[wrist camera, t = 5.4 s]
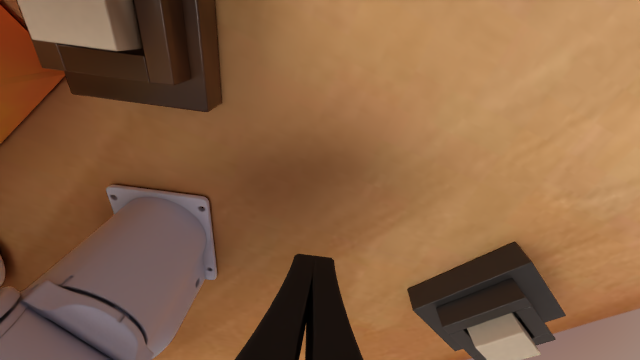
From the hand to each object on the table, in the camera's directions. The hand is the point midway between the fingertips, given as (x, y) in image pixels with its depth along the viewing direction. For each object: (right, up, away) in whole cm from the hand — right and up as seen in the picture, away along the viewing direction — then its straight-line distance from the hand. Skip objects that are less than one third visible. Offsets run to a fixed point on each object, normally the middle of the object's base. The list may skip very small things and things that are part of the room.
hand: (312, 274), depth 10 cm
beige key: (-10, +12, +2) cm, 15 cm away
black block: (+15, -7, +15) cm, 22 cm away
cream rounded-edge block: (+15, -9, +12) cm, 21 cm away
